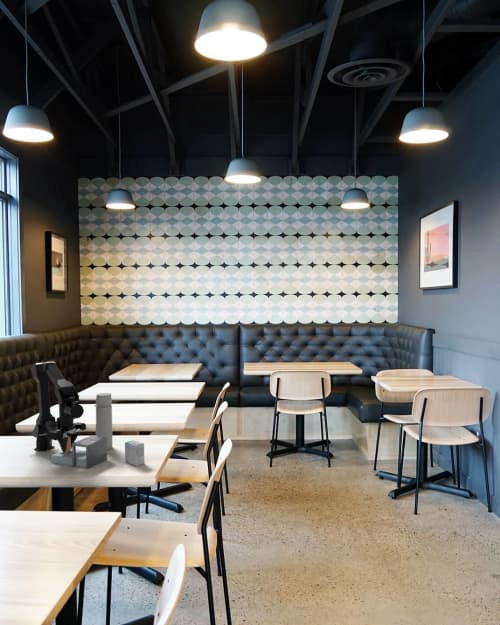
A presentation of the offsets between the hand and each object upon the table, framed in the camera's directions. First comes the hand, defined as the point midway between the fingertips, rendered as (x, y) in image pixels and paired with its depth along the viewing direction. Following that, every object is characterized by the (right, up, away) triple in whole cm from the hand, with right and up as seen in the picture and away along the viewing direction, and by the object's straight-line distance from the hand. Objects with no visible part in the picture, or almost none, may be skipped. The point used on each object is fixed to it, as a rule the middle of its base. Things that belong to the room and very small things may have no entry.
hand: (66, 450), depth 211 cm
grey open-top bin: (+11, -4, -4) cm, 13 cm away
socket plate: (+5, -4, -2) cm, 7 cm away
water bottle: (+11, -4, +16) cm, 20 cm away
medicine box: (+30, -4, -5) cm, 31 cm away
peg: (0, -3, 0) cm, 3 cm away
